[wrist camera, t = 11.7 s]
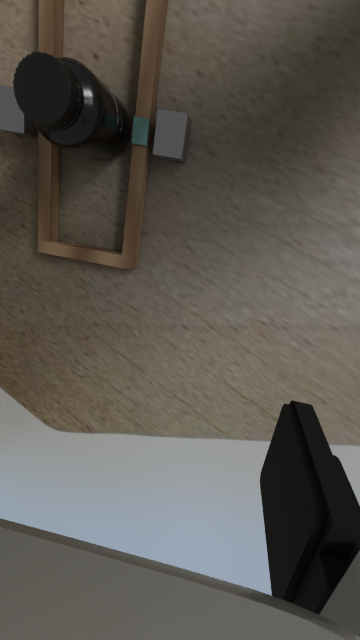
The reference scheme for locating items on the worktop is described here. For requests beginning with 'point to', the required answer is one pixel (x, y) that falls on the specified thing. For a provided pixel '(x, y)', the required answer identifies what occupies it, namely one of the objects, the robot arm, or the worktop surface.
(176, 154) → the pivot blocks
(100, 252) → the walnut rails
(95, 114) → the supplement bottle
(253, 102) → the worktop surface
